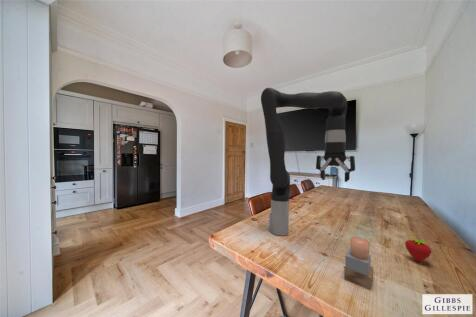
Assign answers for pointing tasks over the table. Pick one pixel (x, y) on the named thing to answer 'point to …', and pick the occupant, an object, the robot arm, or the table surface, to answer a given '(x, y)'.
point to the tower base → (359, 278)
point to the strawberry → (418, 249)
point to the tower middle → (357, 264)
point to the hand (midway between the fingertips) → (334, 180)
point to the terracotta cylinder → (360, 248)
